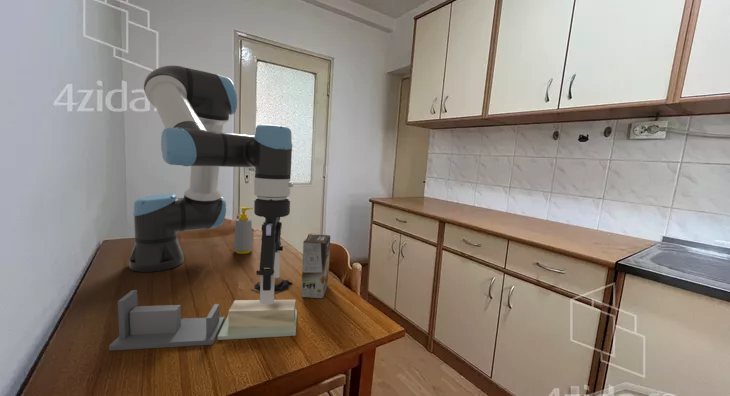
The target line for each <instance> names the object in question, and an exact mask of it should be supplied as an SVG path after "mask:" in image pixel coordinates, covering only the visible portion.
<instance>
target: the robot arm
mask: <svg viewBox="0 0 730 396" xmlns="http://www.w3.org/2000/svg"><path fill="white" fill-rule="evenodd" d="M143 91H144V94H145V97H146V98H147V101H148V102H149V103H150V104H151V105H152V106H154V107H155V108H156V111H157V113H158V115H159V117H160V119H161V120H160V121H161V122H162V124H163V127H164V129H163V131H161V132H162V133H161V136H160V137H161V139H160V147H161V148H160V149H161V154H162V159H163V161H164V162H165V163H166V164H168V165H171V166H172V165H174V166H182V167H190V177H189V188H186V189H185V191H184V193H183V197H178V196H177V195H176V194H175V193H160V194H152V195H146V196H143V197H139V198H138V199H136V200H135V201H134V202H133V213H132V216H133V217H134V218H133V221H134V225H133V226H134V246H133V248H132V251H131V254H130V257H129V261H128V269H130V270H131V271H133V272H134V271H135V272H139V273H141V272H142V273H148V272H149V273H150V272H159V271H165V270H169V269H172V268H173V269H174V268H176V267H178V266H181V264H183V263H184V260H185V259H184V253H183V250H182V248H181V246H180V243H179V241H178V233H179V232H188V231H196V230H197V231H198V230H210V229H216V228H218V227H220V226H221V225H222V224H223V223H224V221H225V218H226V214H227V203H226V199H225V197H223V196H222V193H221V192H220V191H219V190H218V184H219V183H218V182H219V173H220V167H224V168H226V167H230V168H231V167H232V168H253V169H254V181H253V182H254V184H253V185H254V186H253V187H254V188H253V189H254V190H253V191H254V192H253V193H254V196H256V197H255V198H254V200H253V201H254V203H253V204H254V207H253V209H254V210H253V211H254V215H256V216H257V217H260V218H261V217H263V218H264V219H265V220H264V221H263V223H262V224H261V245H260V256H259V257H260V261H259V269H258V270H256V275H257V276H259V277H260V278H259V279H260V281H259V282H260V293H259V300H260V304H274V300H275V294H274V280H275V278H279V277H280V267H281V266H280V265H281V252H282V251H283V250H284V247H283V246H281V245H282V243H281V236H282V226H283V224H282V221H281V218H284V217H287V216H289V215H290V214H291V213H290V211H291V199H290V198H289V197H290V196H291V188H293V187H294V183H293V182H291V175H292V155H293V154H292V152H293V143H292V130H291V129H290V128H289V127H287V126H284V125H276V124H258V125H257V126H256V127H255V132H254V135H251V134H241V133H229V132H223V130H224V124H225V123H228V122H229V119H230V116H231V115H234V114H235V113H236V112H237V111H236V110H237V109H238V93H237V89H236V87H235V84H234V83H233V81H232V79H231V78H229V77H227V76H224V75H221V74H218V73H213V72H208V71H203V70H199V69H194V68H189V67H184V66H181V65H165V66H161V67H158V68H156V69H153V70H152V71H150V73H148V75H147V76H146V77H145V80H144V83H143Z"/></svg>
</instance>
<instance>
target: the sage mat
mask: <svg viewBox="0 0 730 396" xmlns="http://www.w3.org/2000/svg"><path fill="white" fill-rule="evenodd" d="M297 309H298V308H297ZM297 309H296V308H295V320H294V326H291V327H254V328H228V315H227V317H226V318H225V319H224V323H223V325H222V327H221V329H220V331H219V333H218V335H217V341H221V340H223V341H224V340H236V339H237V340H239V339H240V340H241V339H258V338H275V337H276V338H278V337H292V336H293V337H294V336H297V317H298V314H297V313H298V310H297Z"/></svg>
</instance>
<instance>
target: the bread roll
mask: <svg viewBox="0 0 730 396" xmlns="http://www.w3.org/2000/svg"><path fill="white" fill-rule="evenodd" d="M292 284H293V282H290V281H289V280H288V279H283V278H281V277H280V276H279V278H275V280H274V295H275V294H277V293H280V292H282V291H284V290H286V289H288V288H290V287H291V286H292ZM251 291H253V292H256V293H258V294H260V281H258V282H257V283H255V284H254V286H253V287H251Z"/></svg>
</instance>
